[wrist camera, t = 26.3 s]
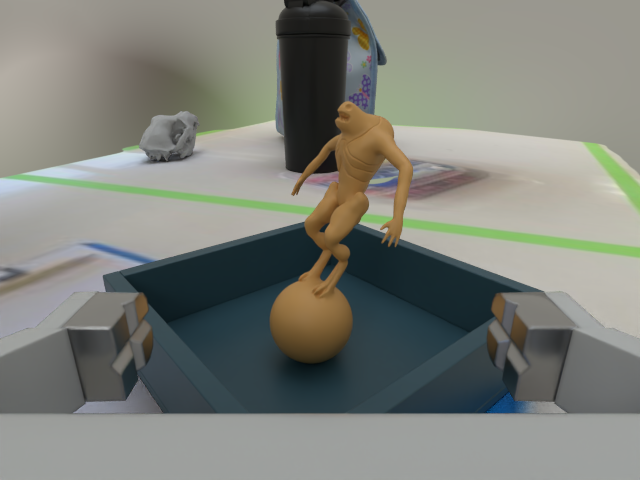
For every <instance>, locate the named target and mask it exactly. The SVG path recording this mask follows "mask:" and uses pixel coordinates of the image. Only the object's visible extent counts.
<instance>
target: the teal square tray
mask: <svg viewBox="0 0 640 480" xmlns="http://www.w3.org/2000/svg"><path fill="white" fill-rule="evenodd" d="M304 224H305V222H302V223H298V224H294V225H290V226H287V227H283V228H279V229H275V230H271V231H268V232H264V233H260V234H256V235H253V236H249V237H245V238H241V239H238V240H234V241H230V242H226V243H223V244H219V245H215V246H211V247H207V248H204V249H200V250H196V251H192V252H189V253H185V254H181V255H177V256H174V257H170V258H166V259H162V260H159V261H155V262H151V263H147V264H143V265H140V266H136V267H132V268H128V269H125V270H121V271H117V272H113V273H110V274H106V275H103V280H104V285H105V290H106V292H128V293H143V294H144V295H145V296H146V297H147V301H148V306H149V311H148V313H147V314H146V316H145V317H144V319H145V320H146V321H147V322H148V323H149V324H150V325H151V326H152V330H153V350H152V354H151V358H150V360H149V362H148V363H147V365H146V367H144V368H142V369H141V370H139V371H138V372H137V374H138V375H139V377H140V378H141V380H142V381H143V383H144V384H145V386H146V387H147V389H148V390H149V392H150V393H151V395H152V396H153V398H154V399H155V401H156V402H157V403H158V405H159V406H160V408H161V409H162V411H163V412H164V413H485V412H486V411H487V410H488V409H489V408H490V407H491V406H493V405H494V404H495V403H496V402H497V401H498V400H499V399H501V398H502V397H503V396H504V395H505V394H506V393H507V392H509V391H508V389H507V387H506V386H505V384H504V382H503V381H502V376H503V372H502V371H501V370H499V369H498V368H496V367H494V365H493V363H492V362H491V360H490V357H489V354H488V351H487V341H486V338H487V330H488V326H489V325H490V324H491V323H492V322H493V321H494V320H495V319H496V317H495V316H494V314H493V313H492V311H491V306H492V300H493V298H494V296H495V294H497V293H514V292H544V291H541V290H538V289H536V288H533V287H530V286H527V285H525V284H522V283H519V282H516V281H514V280H511V279H508V278H505V277H503V276H500V275H497V274H494V273H492V272H489V271H486V270H484V269H481V268H478V267H475V266H473V265H470V264H467V263H464V262H462V261H459V260H456V259H453V258H451V257H448V256H445V255H442V254H440V253H437V252H434V251H431V250H429V249H426V248H423V247H421V246H418V245H415V244H412V243H410V242H407V241H404V240H401V239H399V241H398V244H397V246H396V247H395V242H396V237H395V238H394V240H393V242H392V244H391V245H390V247H388V244H389V241H390V238H391V236H389V237H388V238H387V239H386V240H385V242H384V243H382V240H383V239H384V237H385V235H386V234H385V233H382V232H379V231H377V230H374V229H371V228H368V227H366V226H363V225H360V224H357V225H355V226H354V228H353V229H352V230H351V232H350V233H349V234H348V235H347V236H346V237H345V238H343V239H342V240H341V241H340V242H339V244H343V245H345V246H347V247H348V248H349V250H350V256H349V258H348V265H347V267H346V269H345V271H344V272H343V274H342V276H341V277H340V279H339V281H338V282H337V284H336V286H335V287H336V288H337V289H339V290H340V291H341V292H342V293H343V295H344V296H345V297H346V299H347V301H348V303H349V305H350V308H351V311H352V317H353V326H352V331H351V335H350V338H349V340H348V342H347V343H346V345H345V346H344V348H343V349H342V350H341V351H340V352H339V353H338V354H337V355H335V356H334V357H333V358H331V359H329V360H327V361H324V362H320V363H313V364H309V363H302V362H298V361H296V360H293V359H291V358H290V357H288V356H287V355H285V354H284V353H283V352H282V351H281V350H280V349H279V347H278V346H277V345H276V343H275V341H274V339H273V337H272V334H271V330H270V313H271V309H272V306H273V304H274V302H275V300H276V298H277V297H278V295H279V294H280V293H281V292H282V291H283V290H284V289H285V288H286V287H288V286H289V285H291V284H293V283H295V282H297V281H299V277H300V276H301V275H302V274H304V273H306V272H309V271H310V270H311V269H312V268H313V266H314V265H315V263H316V262H317V261H318V260H319V258H320V256H321V254H322V252H323V250H322V249H321V248H320V247H319V246H318V245H317V244H316V243H315V242H314V240H313V239H312V238H311V237H310V236H308V234H307V232H306V229H305V225H304ZM328 225H329V223H327V224H325V225H324V226H323V227H322V228H321V229H320V230H319V231H320V232H323V233H325V230H326V228H327V227H328ZM338 262H339V260H338V259H336V258H335V257H334V255H333V254H331V256H330V258H329V260H328V262H327V264H326V266H325V268H324V269H323V271H322V273H321V275H320V279H321V280H322V281H325V280H326V279H327V278H328V276H329V275H330V274H331V272H332V271H333V269H334V268H335V266H336V265H337V264H338Z"/></svg>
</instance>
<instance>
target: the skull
mask: <svg viewBox="0 0 640 480" xmlns="http://www.w3.org/2000/svg"><path fill="white" fill-rule="evenodd" d="M197 124H198V125H199V122H198V118H197V117H196V116H195V115H193V114H191V113H189V112H188V111H185V112H182V111H181V112H179V113H178V114H177V115H174V116H165V115H157V116H155V117H153V118H152V120H151V125H150V126H149V127H148V128H147V129H146V131H145V132H144V134H143V136H142V139H141V142H140V144H139V148H140V149H142V150H143V151H145V153H146V155H147V156H148V157H149V158H150V160H154V159H157V161H159V160H160V159H161V156H162V157H164V158H165V160H166V161H168V158H169V157H170V155H172V153H180V158H184V157H185V156H190V155H191V153H192V151H193V148H194V146H195V139H196V129H197Z"/></svg>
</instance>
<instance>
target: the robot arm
mask: <svg viewBox="0 0 640 480" xmlns="http://www.w3.org/2000/svg"><path fill="white" fill-rule="evenodd" d="M148 311H149V306H148V301H147V297H146V296H145V295H144V294H143V293H128V292H98V291H97V292H75V293H73V294H72V295H71V296H70V297H69V298H68V299H67V300H65V301H64V302H63V303H62V304H61V305H60V306H59V307H58V308H56V309H55V310H54V311H53V312H52V313H51V314H50V315H49V316H48V317H46V318H45V319H44V320H43V321H42V322H41V323H40V324H39V325H37V326H36V327H35V328H26V329H24V330H21V331H19V332H16V333H14V334H11V335H9V336H6V337H3V338H1V339H0V480H640V339H639V338H636V337H634V336H631V335H629V334H626V333H624V332H621V331H619V330H616V329H614V328H605V327H604V326H603V325H601V324H600V323H599V322H598V321H597V320H596V319H595V318H594V317H593V316H591V315H590V314H589V313H588V312H587V311H586V310H585V309H584V308H583V307H581V306H580V305H579V304H578V303H577V302H576V301H575V300H574V299H572V298H571V297H570V296H569V295H568V294H567V293H564V292H561V291H559V292H514V293H497V294H495V296H494V298H493V300H492V306H491V311H492V313H493V314H494V316H495V317H496V319H495V320H494V321H493V322H492V323H491V324H490V325H489V326H488V330H487V338H486V341H487V351H488V354H489V357H490V360H491V362H492V363H493V365H494V367H496V368H498V369H499V370H501V371H502V372H503V376H502V381H503V382H504V384H505V386H506V387H507V389H508V391H509V392H510V394H511V396H512V397H513V399H514V401H545V402H555V404H556V405H557V406H559V407H560V408H561V409H563V410H564V411H565V412H567V413H73V412H75V411H76V410H77V409H79V408H80V407H82V406H83V405H84V404H85V402H95V401H126V399H127V397H128V396H129V394H130V392H131V391H132V389H133V387H134V386H135V384H136V382H137V381H138V376H137V372H138V371H139V370H141V369H142V368H144V367H146V365H147V363H148V362H149V360H150V358H151V354H152V350H153V330H152V326H151V325H150V324H149V323H148V322H147V321H146V320H145V319H144V317H145V316H146V314H147V313H148Z"/></svg>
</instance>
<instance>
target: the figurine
mask: <svg viewBox="0 0 640 480" xmlns="http://www.w3.org/2000/svg"><path fill="white" fill-rule="evenodd" d="M338 112H339V116H340V117H338V118H337V119H336V120H335V123H336V126H337V127H338V128H339V129H340V130H341V132H342V133H341V134H340V135H337V136H335V137H334V138H333V139H331V140H330V141H329V142H328V143H327V144H326V145H325V146H324V147H323V148H322V150H321V152H320V153H319V155H318V156H317V157H316V158H315V159H314V160H313V161H312V162H311V163H310V164H309V165H308V166H307V168H306V169H305V171H304V172H303V174H302V175H301V177H300V178H299V180H298V181H297V183H296V185H295V187H294V189H293V192H292V194H291V195H293V196H294V195H295V193H296V192H297V193H296V195H297V194H298V192H299V189H300V187H301V186H302V184H303V182H304V181H305V180H306V178H307V177H309V176H310V175H311V174H312V173H313V172H314V171H315V170H316V169H317V168H318V167H319V166H320V165H321V164H322V163H323V162H324V161H325V159H326V158H327V157H328V155H329V154H330V152H331V151H334V150H335V157H336V162H337V168H338V171H339V183H337V182H332V183H331V184H330V186H329V188H328V190H327V192H326V193H325V196H324V198H323V199H322V201H321V202H320V203H319V204H318V206H317V207H316V208H315V210H314V211H313V213H312V214H311V215H310V216H309V217H308V218H307V219H306V220H305V224H304V225H305V229H306V232H307V234H308V236H310V237H311V238H312V239H313V240H314V242H315V243H316V244H317V245H318V246H319V247H320V248H321V249H322V250H323V252H322V254H321V256H320V258H319V260H318V261H317V262H316V263H315V265H314V266H313V268H312V269H311V270H310V271H309V272H306V273H304V274H302V275H301V276H300V277H299V281H297V282H295V283H293V284H291V285H289V286H288V287H286V288H285V289H284V290H283V291H282V292H281V293H280V294H279V295H278V297H277V298H276V300H275V302H274V304H273V306H272V309H271V313H270V330H271V334H272V337H273V339H274V341H275V343H276V345H277V346H278V347H279V349H280V350H281V351H282V352H283V353H284V354H285V355H287V356H288V357H290V358H291V359H293V360H296V361H298V362H302V363H309V364H313V363H320V362H324V361H327V360H329V359H331V358H333V357H334V356H335V355H337V354H338V353H339V352H340V351H341V350H342V349H343V348H344V346H345V345H346V343H347V342H348V340H349V338H350V335H351V331H352V326H353V317H352V311H351V308H350V305H349V303H348V301H347V299H346V297H345V296H344V295H343V293H342V292H341V291H340V290H339V289H337V288H336V287H335V286H336V284H337V282H338V281H339V279H340V277H341V276H342V274H343V272H344V271H345V269H346V267H347V265H348V258H349V256H350V250H349V248H348V247H347V246H345V245H343V244H339V242H340V241H341V240H342V239H343V238H345V237H346V236H347V235H348V234H349V233H350V232H351V230H352V229H353V228H354V226H355V225H357V224H358V223H359V222H360V220H361V217H362V216H363V215H364V214H365V213H366V211H367V210H368V207H369V201H368V198H367V197H366V195H365V194H364V192H365V191H366V189H367V187H368V184H369V182H370V180H371V179H372V177H373V176H374V174H375V173H376V172H377V170H378V169H379V168H380V166H381V165H382V163H383V161H384V160H385V158H386V159H387V160H388V161H389V162H390V163H391V164H392V165H393V166H394V167H396V168H397V169H398V170H399V177H398V186H397V191H396V194H395V199H394V216H393V219H392V220H391V221H389V222H387V223H385V224H384V225H383V226H382V227H381V229H380V230H382V229H384V228H386V227H388V231H387V233H386V235H385V237H384V239H383V240H382V243H384V242H385V240H386V239H387V238H388V237H389V236H390V235H391V238H390V241H389V244H388V247H390V245H391V244H392V242H393V240H394V238H395V237H396V242H395V247H396V246H397V244H398V241H399V238H400V235H401V232H402V225H403V213H404V209H405V207H406V202H407V198H408V192H409V187H410V183H411V180H412V176H413V167H412V165H411V163H410V161H409V160H408V158H407V157H406V156H405V155H404V153H403V152H402V151H401V150H400V149H399V148H398V147H397V146H396V144H395V141H394V131H393V127H392V125H391V124H390V123H389V122H388V121H387V120H386V119H385V118H383V117H380V116H376V115H372V114H367V113H365V112H363V111H362V110H361V109H360V108H359V107H357V106H356V105H355V104H354V103H352V102H350V101H346V102H344V103H343V104H342V105H341V106H340V107H339V108H338ZM327 223H329V225H328V227H327V228H326V230H325V233H323V232H320V231H319V230H320V229H321V228H322V227H323V226H324V225H325V224H327ZM331 254H333V255H334V257H335V258H336V259H338V260H339V262H338V264H337V265H336V266H335V268H334V269H333V271H332V272H331V274H330V275H329V276H328V278H327V279H326V280H325V281H322V280H321V279H320V275H321V273H322V271H323V269H324V268H325V266H326V264H327V262H328V260H329V258H330V256H331Z"/></svg>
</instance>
